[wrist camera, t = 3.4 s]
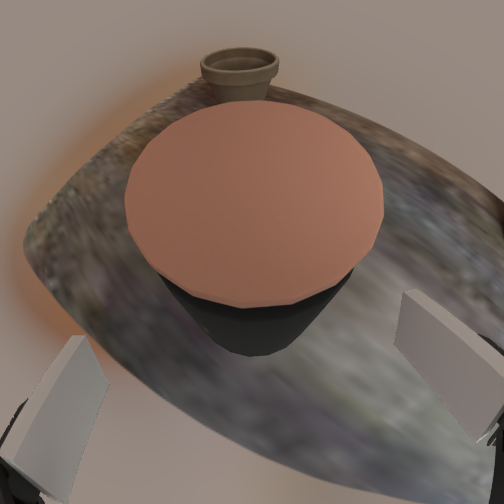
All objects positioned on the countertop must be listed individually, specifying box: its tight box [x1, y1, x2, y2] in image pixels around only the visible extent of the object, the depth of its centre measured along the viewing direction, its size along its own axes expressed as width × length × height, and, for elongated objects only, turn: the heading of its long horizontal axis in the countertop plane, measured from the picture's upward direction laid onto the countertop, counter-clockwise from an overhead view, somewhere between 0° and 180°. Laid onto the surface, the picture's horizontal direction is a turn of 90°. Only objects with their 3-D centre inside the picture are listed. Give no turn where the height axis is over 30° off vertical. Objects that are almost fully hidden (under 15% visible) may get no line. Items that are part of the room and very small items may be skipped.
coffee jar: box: [124, 100, 384, 357], centre depth 18 cm, size 11×11×18 cm
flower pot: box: [200, 47, 279, 105], centre depth 36 cm, size 12×11×10 cm
